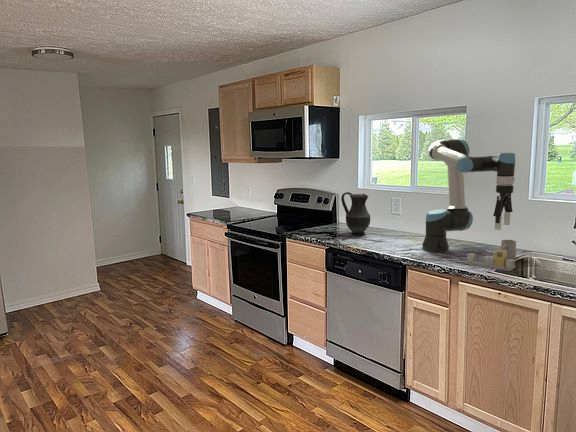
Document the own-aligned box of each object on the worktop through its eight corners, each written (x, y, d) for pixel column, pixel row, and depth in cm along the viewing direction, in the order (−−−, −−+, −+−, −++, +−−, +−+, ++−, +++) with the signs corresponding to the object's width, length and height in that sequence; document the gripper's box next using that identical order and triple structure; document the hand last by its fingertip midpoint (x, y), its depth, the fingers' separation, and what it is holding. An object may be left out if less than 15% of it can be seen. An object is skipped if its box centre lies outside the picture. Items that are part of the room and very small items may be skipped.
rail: (464, 263, 220) (465, 255, 219) (471, 260, 227) (471, 251, 226) (510, 271, 205) (511, 262, 204) (516, 267, 212) (516, 258, 211)
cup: (517, 257, 229) (518, 241, 228) (509, 260, 223) (510, 244, 222) (504, 254, 235) (505, 239, 234) (495, 258, 229) (496, 242, 228)
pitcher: (364, 238, 286) (364, 194, 281) (337, 235, 297) (336, 193, 292) (373, 233, 301) (374, 191, 295) (347, 230, 311) (346, 190, 306)
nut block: (494, 266, 212) (494, 251, 211) (497, 264, 215) (497, 249, 214) (503, 268, 209) (504, 252, 208) (506, 265, 212) (507, 250, 211)
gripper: (505, 187, 194) (502, 232, 198) (520, 182, 212) (518, 223, 216) (487, 186, 199) (485, 230, 203) (504, 181, 217) (502, 222, 221)
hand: (502, 227), depth 209 cm, fingers open, 13 cm apart
